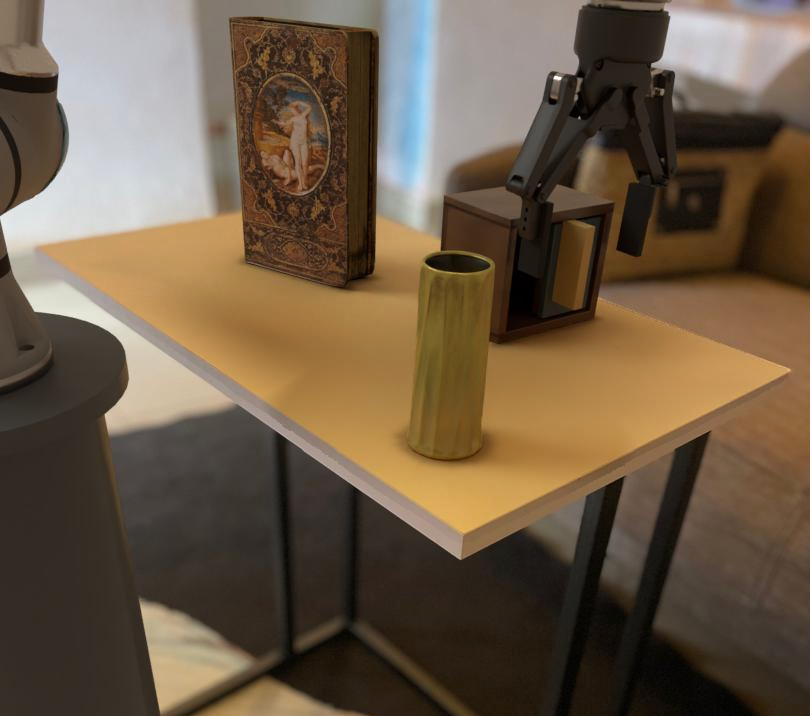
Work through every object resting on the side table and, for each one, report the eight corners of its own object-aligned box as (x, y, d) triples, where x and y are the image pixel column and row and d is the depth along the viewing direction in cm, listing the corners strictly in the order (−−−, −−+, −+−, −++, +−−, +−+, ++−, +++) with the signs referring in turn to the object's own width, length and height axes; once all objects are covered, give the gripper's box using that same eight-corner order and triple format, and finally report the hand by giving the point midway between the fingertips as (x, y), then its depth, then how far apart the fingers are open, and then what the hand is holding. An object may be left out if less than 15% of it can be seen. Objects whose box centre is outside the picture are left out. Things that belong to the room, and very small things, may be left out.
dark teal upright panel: (536, 316, 87) (550, 219, 81) (580, 305, 90) (596, 211, 84) (563, 328, 84) (579, 229, 78) (607, 317, 87) (625, 221, 82)
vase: (399, 455, 65) (407, 270, 56) (413, 419, 69) (422, 244, 61) (477, 465, 64) (497, 279, 55) (486, 428, 69) (505, 252, 60)
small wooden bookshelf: (435, 312, 90) (443, 194, 83) (531, 290, 97) (545, 180, 90) (497, 343, 83) (511, 219, 76) (594, 318, 90) (615, 202, 83)
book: (237, 260, 101) (220, 17, 87) (268, 250, 105) (256, 15, 90) (346, 290, 94) (347, 31, 80) (374, 278, 98) (380, 29, 83)
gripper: (548, 7, 60) (511, 295, 73) (755, 9, 73) (693, 255, 85) (481, -2, 65) (457, 270, 78) (685, 2, 78) (637, 236, 90)
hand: (581, 263), depth 81 cm, fingers open, 13 cm apart
